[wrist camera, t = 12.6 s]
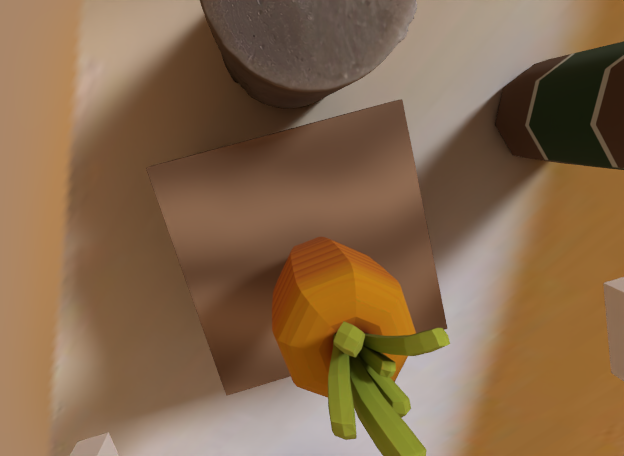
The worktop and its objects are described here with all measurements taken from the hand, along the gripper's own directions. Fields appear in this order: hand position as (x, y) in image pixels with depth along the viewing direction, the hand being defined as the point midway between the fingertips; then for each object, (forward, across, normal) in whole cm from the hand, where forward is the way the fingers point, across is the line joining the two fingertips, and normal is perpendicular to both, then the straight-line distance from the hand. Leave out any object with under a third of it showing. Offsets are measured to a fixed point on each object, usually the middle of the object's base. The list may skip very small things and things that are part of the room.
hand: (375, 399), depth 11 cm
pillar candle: (+24, +3, +13) cm, 27 cm away
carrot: (+14, 0, 0) cm, 14 cm away
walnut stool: (+24, 0, 0) cm, 24 cm away
